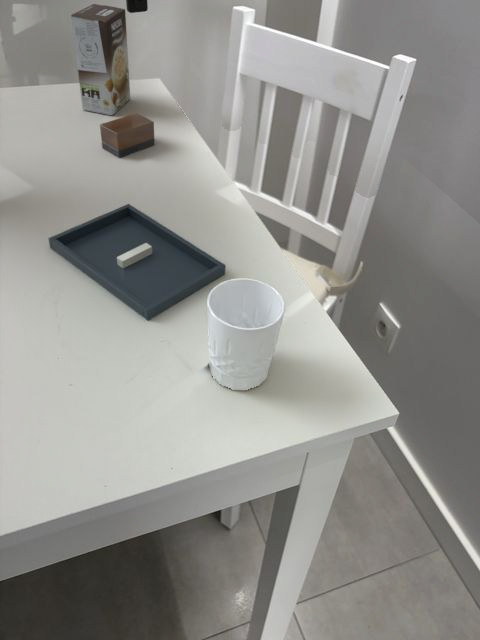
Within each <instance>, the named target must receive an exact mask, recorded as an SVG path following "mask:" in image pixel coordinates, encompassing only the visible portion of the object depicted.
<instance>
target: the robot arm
mask: <svg viewBox="0 0 480 640" xmlns="http://www.w3.org/2000/svg"><path fill="white" fill-rule="evenodd" d="M125 1H126V2H125V5H126V11H127V13H129V14H133V13H143V12H147V11H148V9H149V7H148V5H149V3H148V0H125Z"/></svg>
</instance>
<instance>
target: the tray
mask: <svg viewBox="0 0 480 640" xmlns="http://www.w3.org/2000/svg"><path fill="white" fill-rule="evenodd" d="M144 243H147V244H149V245H150V246H152V254H151V255H149V256H147V257H145V258H143V259H141V260H139V261H137V262H135V263H133V264H131V265H129V266H127V267H125V268H122V267H120V266H119V265H117V257H118V256H120V255H122V254H124V253H126V252H128V251H130V250H132V249H134V248H136V247H138V246H140V245H142V244H144ZM48 244H49V248H50V249H51V250H52V251H54V252H55V253H56V254H58V255H59V256H60V257H61V258H62V259H64V260H66V261H67V262H68V263H69V264H71V265H72V266H74V267H75V268H76V269H78V270H79V271H80V272H81V273H83V274H84V275H86V276H87V277H88V278H89V279H91V280H93V281H94V282H95V283H97V284H98V285H99V286H100V287H102V288H103V289H104V290H106V291H107V292H108V293H110V294H111V295H113V296H114V297H115V298H117V299H118V300H119V301H121V302H122V303H123V304H125V305H126V306H127V307H128V308H130V309H131V310H132V311H134V312H135V313H136V314H138V315H139V316H141V317H142V318H143V319H145V320H146V321H150V320H152V319H153V318H155V317H156V316H158V315H160V314H162V313H163V312H165V311H167V310H169V309H170V308H172V307H173V306H175V305H176V304H178V303H180V302H182V301H184V300H185V299H187V298H189V297H190V296H192V295H193V294H195V293H197V292H198V291H200V290H201V289H203V288H205V287H207V286H208V285H210V284H211V283H213V282H214V281H216V280H218V279H220V278H221V277H223V276H225V274H226V264H225V263H223V262H221V261H220V260H219V259H217V258H216V257H213V256H212V255H210V254H209V253H207V252H206V251H204V250H203V249H201V248H199V247H198V246H196V245H194V244H193V243H191V242H190V241H188V240H187V239H185V238H183V236H181V235H179V234H177V233H176V232H174V231H173V230H171V229H169V228H168V227H166V226H165V225H164V224H161V223H160V222H158V221H157V220H155V219H153V218H152V217H150V216H149V215H147V214H146V213H144V212H143V211H141V210H139V209H137V208H136V207H135V206H133V205H131V204H130V203H127V204H124V205H122V206H120V207H118V208H115V209H113V210H111V211H109V212H106V213H104V214H101V215H100V216H97V217H94V218H92V219H90V220H87V221H85V222H82V223H81V224H78V225H76V226H73V227H71V228H69V229H67V230H64V231H62V232H59V233H56V234H55V235H53V236H50V237H48Z"/></svg>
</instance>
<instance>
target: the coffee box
mask: <svg viewBox="0 0 480 640" xmlns="http://www.w3.org/2000/svg"><path fill="white" fill-rule="evenodd" d="M70 16H71V25H72V33H73V42H74V50H75V51H74V52H75V58H76V59H75V60H76V68H77V75H78V83H79V91H80V93H79V94H80V100H81V109H82V111H88V112H92V113H97V114H102V115H107V116H114V115H115V114H116V113H117V112H118V111H119V110H120V109H121V108H122V107H123V106H125V105H126V104H127V103H128V102H129V101H130V100H131V86H130V85H131V84H130V68H129V53H128V52H129V51H128V50H129V49H128V35H127V33H128V32H127V19H126V18H127V17H126V16H127V15H126V8H121V7H117V6H111V5H104V4H97V3H92V4H91V5H89V6H86V7H85V8H82V9H80V10H78V11H76V12H73V13H72V14H71V15H70ZM129 99H130V100H129ZM128 100H129V101H128ZM127 101H128V102H127ZM126 102H127V103H126ZM125 103H126V104H125Z"/></svg>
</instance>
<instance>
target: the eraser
mask: <svg viewBox="0 0 480 640" xmlns="http://www.w3.org/2000/svg"><path fill="white" fill-rule="evenodd" d="M99 128H100V139H101V148H102V149H103V150H105V151H107V152H108V153H110V154H112V155H113V156H114V157H117V158H118V159H119V158H122V157H125V156H129V155H131V154H134V153H137V152H139V151H141V150H145V149H147V148H150V147H153V146H155V144H156V143H155V122H154V121H153V120H151V119H149V118H147V117H145V116H143V115H142V114H140V113H138V112H135V113H132V114H129V115H125V116H122V117H119V118H115V119H112V120H109V121H106V122H102V123H100V124H99Z"/></svg>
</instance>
